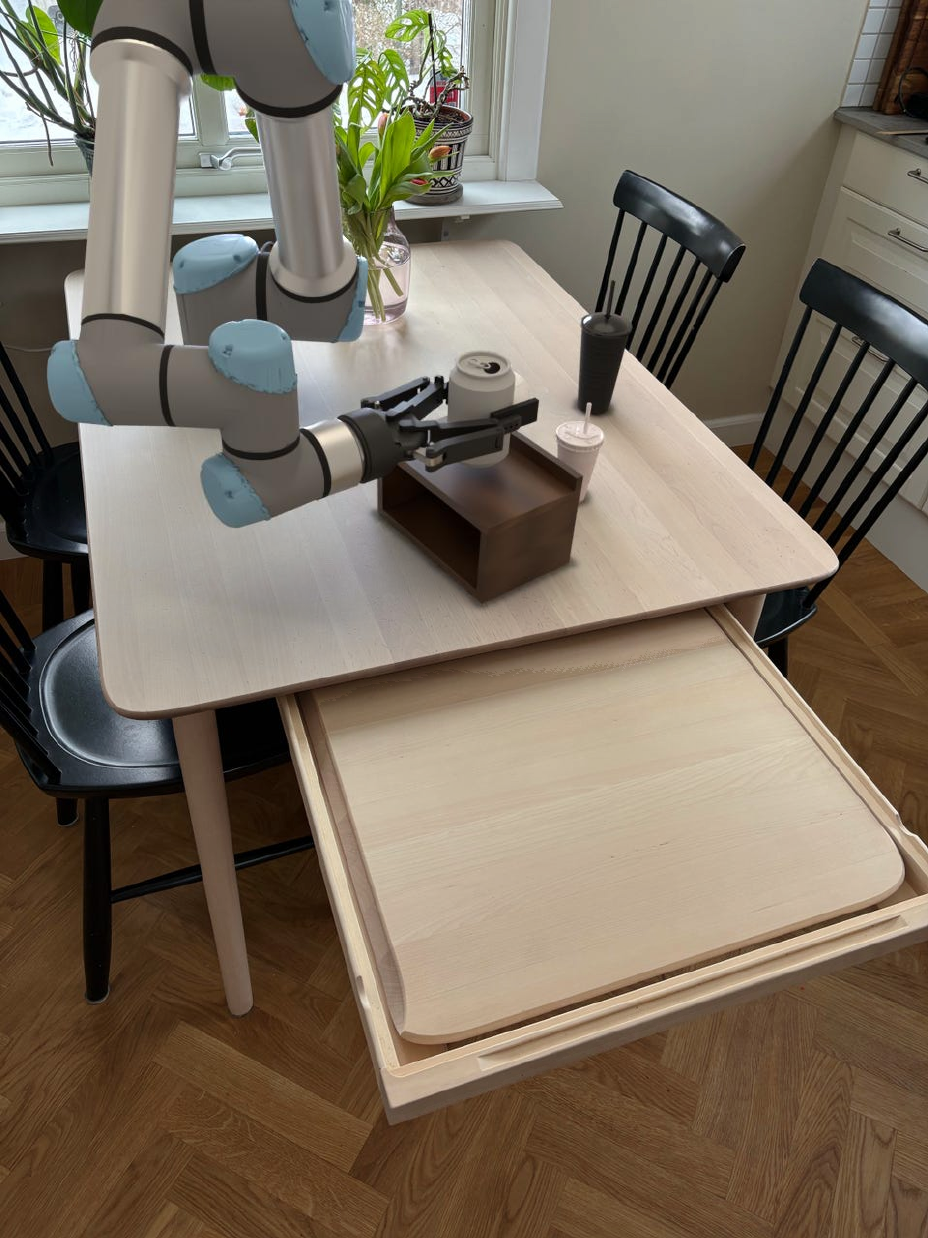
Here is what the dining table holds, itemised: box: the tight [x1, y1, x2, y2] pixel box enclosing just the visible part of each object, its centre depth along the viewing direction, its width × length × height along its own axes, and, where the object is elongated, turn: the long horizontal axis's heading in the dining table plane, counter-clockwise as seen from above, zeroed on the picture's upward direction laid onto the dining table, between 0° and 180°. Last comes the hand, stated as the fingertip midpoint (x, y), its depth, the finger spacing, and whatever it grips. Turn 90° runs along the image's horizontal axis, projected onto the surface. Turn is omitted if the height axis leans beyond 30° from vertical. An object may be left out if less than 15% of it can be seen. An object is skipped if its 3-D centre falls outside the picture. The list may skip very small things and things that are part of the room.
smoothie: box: [554, 403, 605, 503], centre depth 126 cm, size 6×6×14 cm
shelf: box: [376, 415, 583, 604], centre depth 118 cm, size 14×22×13 cm, turn 38°
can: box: [446, 349, 516, 468], centre depth 110 cm, size 8×8×12 cm
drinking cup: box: [577, 279, 633, 416], centre depth 143 cm, size 8×8×20 cm
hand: (512, 394), depth 112 cm, fingers closed on can, 7 cm apart
